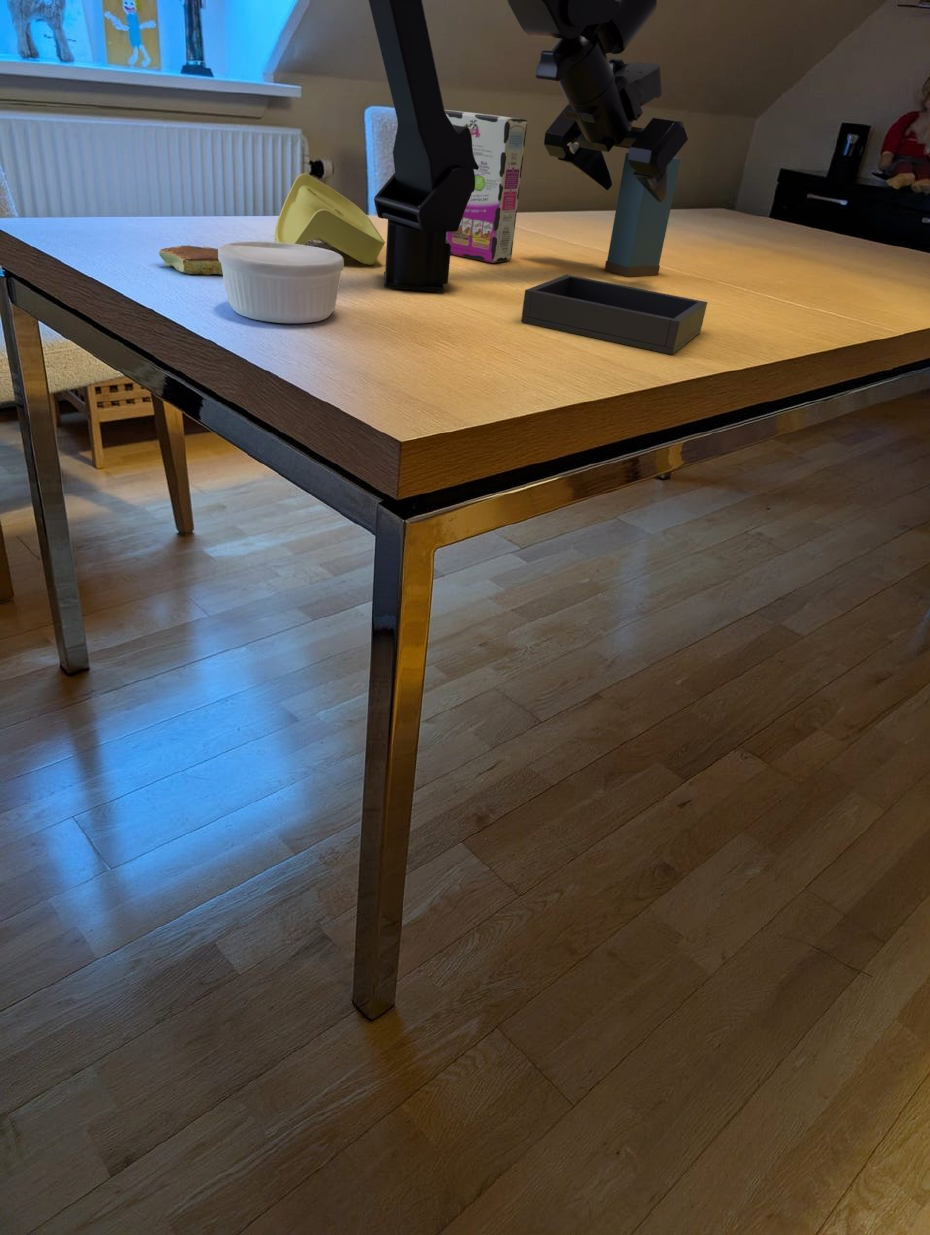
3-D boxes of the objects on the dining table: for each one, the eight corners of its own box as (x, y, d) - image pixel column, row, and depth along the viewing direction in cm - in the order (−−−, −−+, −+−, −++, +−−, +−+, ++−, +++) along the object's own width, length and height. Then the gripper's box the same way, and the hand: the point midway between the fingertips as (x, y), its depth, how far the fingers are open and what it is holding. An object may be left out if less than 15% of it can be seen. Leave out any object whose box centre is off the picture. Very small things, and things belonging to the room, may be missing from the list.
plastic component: (388, 247, 102) (311, 200, 97) (358, 303, 105) (282, 261, 100) (361, 206, 117) (293, 164, 112) (335, 257, 120) (267, 218, 115)
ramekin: (296, 293, 88) (296, 237, 86) (367, 320, 82) (369, 261, 79) (196, 303, 81) (192, 242, 79) (265, 333, 75) (264, 268, 72)
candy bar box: (513, 261, 116) (530, 119, 108) (493, 264, 113) (509, 118, 104) (443, 245, 121) (455, 108, 113) (422, 248, 118) (432, 107, 109)
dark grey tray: (520, 322, 88) (524, 289, 86) (561, 303, 97) (566, 274, 95) (672, 355, 83) (679, 321, 81) (700, 332, 92) (707, 302, 90)
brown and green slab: (282, 277, 94) (281, 259, 93) (236, 287, 88) (235, 268, 87) (201, 259, 98) (200, 242, 97) (152, 268, 92) (150, 249, 91)
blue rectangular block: (627, 276, 115) (649, 157, 108) (604, 270, 118) (624, 152, 110) (658, 275, 118) (682, 158, 111) (635, 268, 121) (656, 154, 114)
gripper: (697, 35, 94) (733, 154, 106) (575, 27, 106) (620, 135, 118) (633, 115, 94) (677, 225, 106) (518, 99, 105) (569, 200, 118)
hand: (635, 193), depth 112 cm, fingers open, 9 cm apart
